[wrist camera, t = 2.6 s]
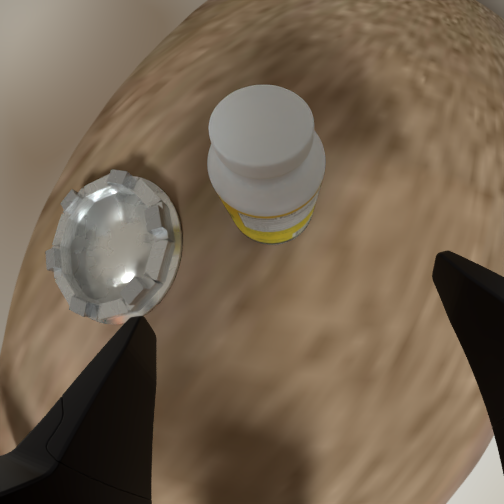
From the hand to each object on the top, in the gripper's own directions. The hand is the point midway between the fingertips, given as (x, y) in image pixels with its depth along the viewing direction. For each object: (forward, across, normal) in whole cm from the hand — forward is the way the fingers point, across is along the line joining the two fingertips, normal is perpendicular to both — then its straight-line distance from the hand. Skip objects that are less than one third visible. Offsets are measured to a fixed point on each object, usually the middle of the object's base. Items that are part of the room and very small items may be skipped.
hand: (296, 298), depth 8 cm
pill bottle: (+15, 0, +5) cm, 16 cm away
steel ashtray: (+15, +14, +5) cm, 21 cm away
